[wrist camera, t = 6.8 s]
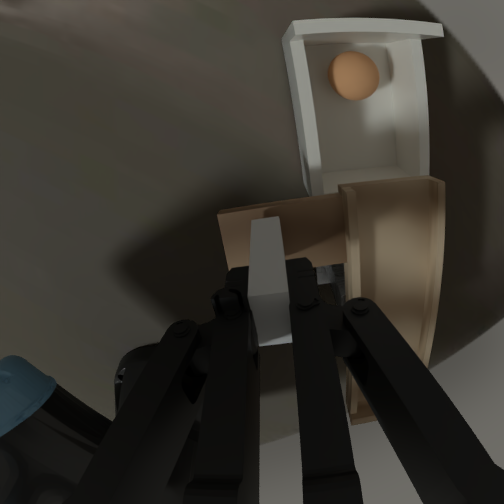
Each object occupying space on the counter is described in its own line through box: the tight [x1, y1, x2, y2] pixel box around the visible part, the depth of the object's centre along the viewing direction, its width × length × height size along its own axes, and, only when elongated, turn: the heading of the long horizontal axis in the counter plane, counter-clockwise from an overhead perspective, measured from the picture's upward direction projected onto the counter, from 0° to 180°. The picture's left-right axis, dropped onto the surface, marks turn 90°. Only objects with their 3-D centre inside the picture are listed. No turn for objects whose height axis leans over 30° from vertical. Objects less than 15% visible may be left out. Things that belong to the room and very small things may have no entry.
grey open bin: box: [281, 18, 444, 197], centre depth 19 cm, size 9×12×8 cm
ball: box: [328, 51, 379, 100], centre depth 19 cm, size 4×4×4 cm
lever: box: [217, 175, 445, 425], centre depth 21 cm, size 18×13×5 cm
